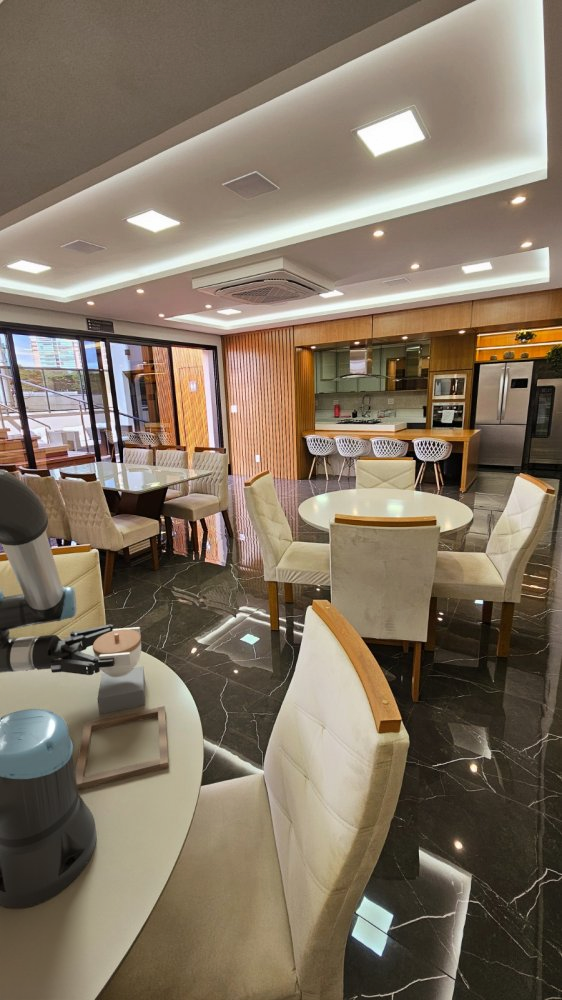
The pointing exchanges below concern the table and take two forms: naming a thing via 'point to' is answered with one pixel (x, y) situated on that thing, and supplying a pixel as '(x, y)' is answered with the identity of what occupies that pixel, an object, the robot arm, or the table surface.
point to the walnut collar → (128, 770)
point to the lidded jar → (119, 649)
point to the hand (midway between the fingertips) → (135, 644)
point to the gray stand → (121, 691)
